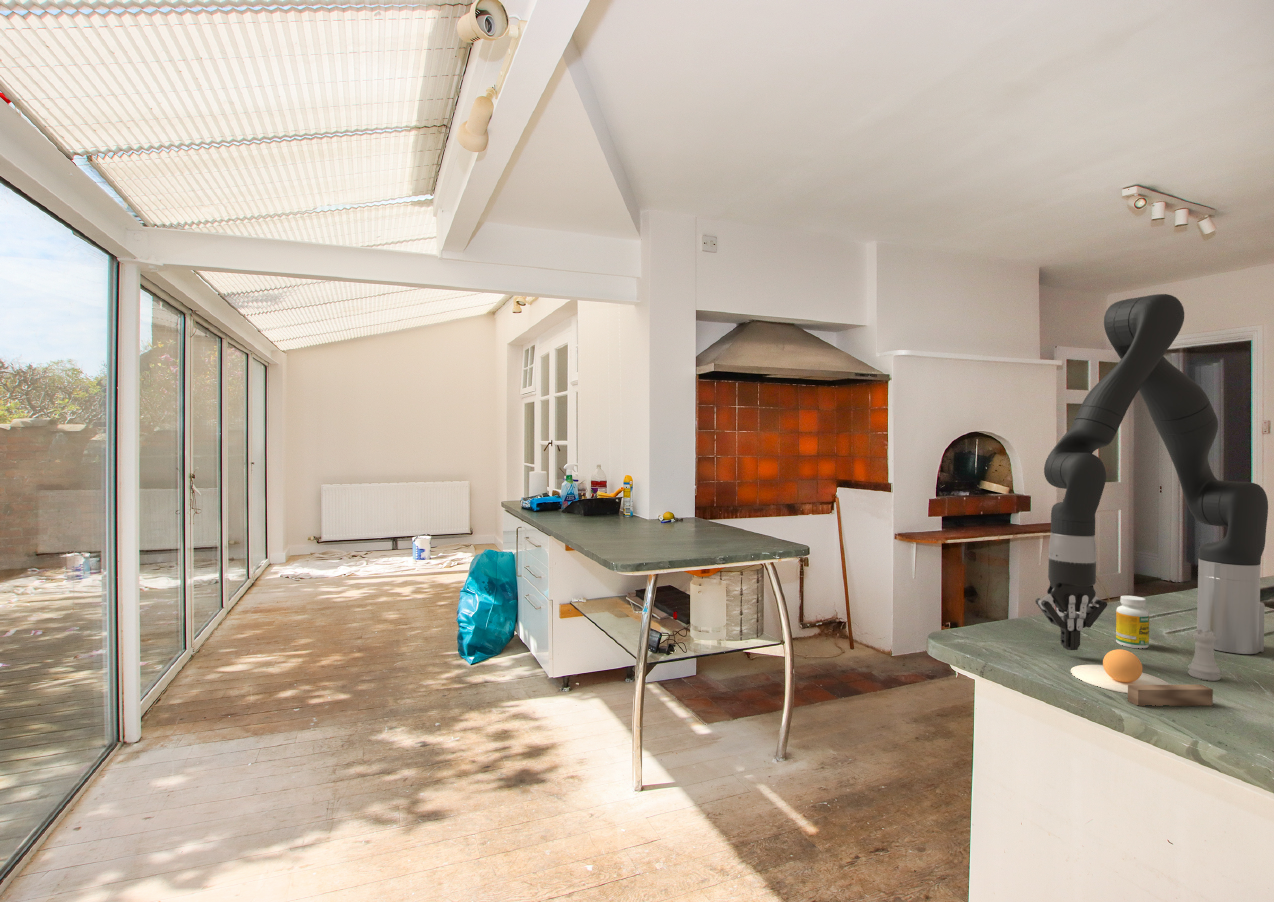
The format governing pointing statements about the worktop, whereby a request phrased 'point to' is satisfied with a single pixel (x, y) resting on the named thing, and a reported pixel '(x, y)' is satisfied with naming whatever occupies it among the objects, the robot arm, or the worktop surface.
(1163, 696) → the rail
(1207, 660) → the rook chess piece
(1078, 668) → the disc
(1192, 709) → the worktop surface
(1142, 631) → the supplement bottle
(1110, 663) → the egg
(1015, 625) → the worktop surface
